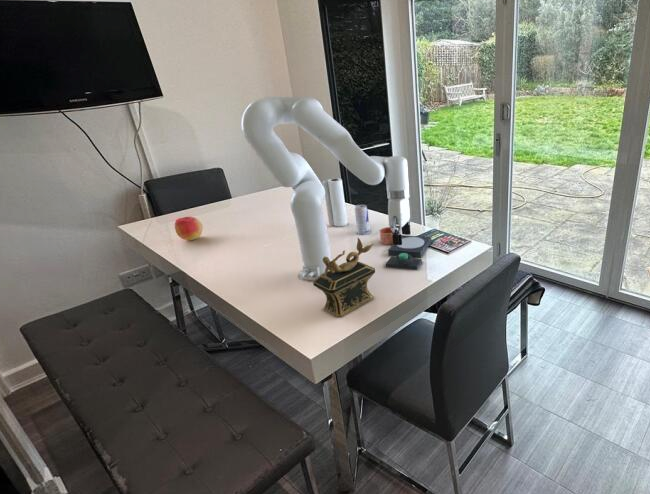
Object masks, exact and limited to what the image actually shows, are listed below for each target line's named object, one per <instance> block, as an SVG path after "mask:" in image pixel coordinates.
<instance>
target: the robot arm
mask: <svg viewBox="0 0 650 494" xmlns="http://www.w3.org/2000/svg"><path fill="white" fill-rule="evenodd" d="M278 125H298V127H300V128H301V129H302V130H303V131H305V132H306V133H307V134H308V135H309V136H311V137H312V138H313V139H315V140H316V141H317V142H319V143H320V145H322V146H323V147H324V148H325V149H327V150H328V151H329V152H330V153H331V154H332V155H333V156H334V158H336V160H338V161H339V162H340V164H342V165H343V166H344V167H345V168H346V169H347V170H348V171H349V172H350V173H351V174H353V175H354V176H355V177H356V178H358V179H359V180H360V181H362V182H363V183H365V184H367V185H369V186H377V185H379V184H380V183H382V182H383V180H384V179H385V184H386V194H387V199H388V200H387V201H388V202H387V215H388V216H387V217H388V219H387V220H388V227H390V228H391V232H392V238H393V244H394V245H402V235H407V236H411V233H412V232H411V220H410V219H411V208H410V201H409V198H410V197H411V195H410V182H409V168H408V160H407V158H406V157H404V156H401V155H392V156H379V155H370V156H369V155H368V154H367V153H365V152H364V151H363V150H362V148H360V146H359V145H357V143H356V142H355V141H354V139H353V137H352V134H350V132H349V131H348V130H347V129H346V128H345V127H344V126H342V125H341V124H340V123H339V122H338V121H337V120H336V119H335V118H333V117H332V116H331V115H330V114H328V113H327V112H326V111H325V109H324V108H323V106H322V104H321V102H319V100H317V99H316V98H314V97H310V96H298V97H297V96H266V97H263V98H259V99H256V100H254V101H252V102H251V103H250V104H249V105H248V106H247V107H246V108H245V110H244V111H243V114H242V117H241V125H240V126H241V131H242V134H243V137H244V139H245V140H246V142H247V143H248V144H249V146H250V147H251V148H252V150H253V151H254V153H255V154H256V155H257V157H258V159H259V160H260V161H261V163H262V164H263V165H264V167H265V169H266V170H267V171H268V172H269V174H270V175H271V177H272V178H273V180H274V181H275V182H276V183H277V184H278V185H279V186H281V187H283V188H291V189H292V191H293V193H292V195H291V197H290V204H289V205H290V210H291V213H292V216H293V220H294V224H295V228H296V233H297V236H298V244H299V248H300V255H301V258H302V259H301V260H302V264H303V265H302V268H301V270H300V272H299V274H298V275H297V278H298V279H299V281H303V280H306V281H314V280H315V279H316V278H318V277H319V276H320V275H321V274H323V273H325V268H326V265H325V263H324V262H323V258H324V257H328V258H329V260H330V261H332V260H333V259H332V255H331V254H332V253H331V246H330V241H329V234H328V229H327V223H326V217H325V214H324V208H323V203H324V201H325V189H324V187H323V182H322V181H321V180H320V179H319V177H318V176H317V173H315V171H314V170H313V168H312V167H311V166H310V164H309V163H308V161H307V160H306V159H305V158H304V157H303V156H302V155H301V154H299V153H296V152H291V151H289V150H288V148H287V147H286V145H285V144H284V142H283V141H282V139H280V137H279V136H278V135H277V134H276V132H275V129H274V128H275V127H276V126H278ZM393 244H392V245H393ZM328 271H330V270H328Z"/></svg>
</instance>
